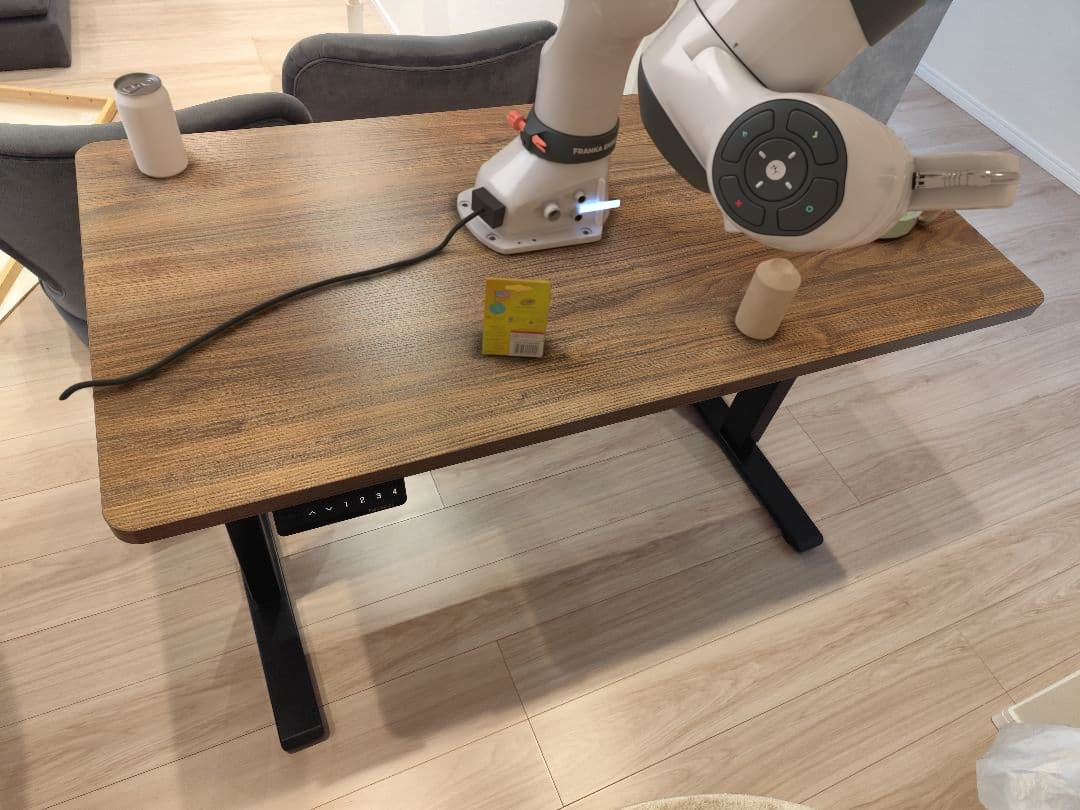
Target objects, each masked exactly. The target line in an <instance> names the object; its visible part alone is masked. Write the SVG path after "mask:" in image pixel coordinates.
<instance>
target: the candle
mask: <svg viewBox="0 0 1080 810" xmlns="http://www.w3.org/2000/svg"><path fill="white" fill-rule="evenodd" d="M801 284H802V276H801V275H800V272H798V270H797V268H796V267H795V266H794V265H793V264H792V262H791V261H790V260H789V259H788V258H782V257H776V258H772V259H767V260H763V261H761V262H760V263H759V264H757V267H756V269H755V271H754V273H753V276H752V278H751V280H750V282H749V285H748V287H747V290H746V291H745V295H744V296H743V298H742V300H741V303H740V305H739V307H738V310H737V312H736V315H735V317H734V323H735V326H736V327H737V329H738V331H740V332H741V333H742V334H743V335H745V336H747V337H749V338H752V339H755V340H768V339H770V338H772V337H773V336H775V334H776V333H777V331H778V329H779V327H780V325H781V323H782V321H783V319H784V318H785V315H786V314H787V311H788V310H789V308H790V305H791V303H792V302H793V299H794V298H795V296H796V294H797V291H798V290H799V288H800V286H801Z"/></svg>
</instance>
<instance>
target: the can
mask: <svg viewBox="0 0 1080 810" xmlns="http://www.w3.org/2000/svg"><path fill="white" fill-rule="evenodd" d="M112 86H113V89H114V93H113V99H114V103H115V105H116V108H117V112H118V114H119V117H120V120H121V122H122V126H123V128H124V131H125V135H126V137H127V140H128V142H129V146H130V148H131V151H132V155H133V156H134V160H135V162H136V165H137V167H138V169H139V171H140V172H141V173H143V174H144V175H146V176H148V177H150V178H155V179H166V178H173V177H176V176H178V175H180V174H182V173H183V172H184V171H186V168H187V167H188V165H189V159H188V155H187V152H186V149H185V148H186V147H185V145H184V140H183V138H182V134H181V130H180V128H179V124H178V120H177V118H176V113H175V110H174V106H173V103H172V100H171V97H170V94H169V92H168V89H167V88H166V87H165V86H164V85H163V82H162V79H161V78H160V76H157V75H156V74H153V73H149V72H143V71H142V72H141V71H139V72H137V71H136V72H129V73H126V74H122V75H120V76H119V77H117V78H116V79H115V80H114V82H113V84H112Z"/></svg>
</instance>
